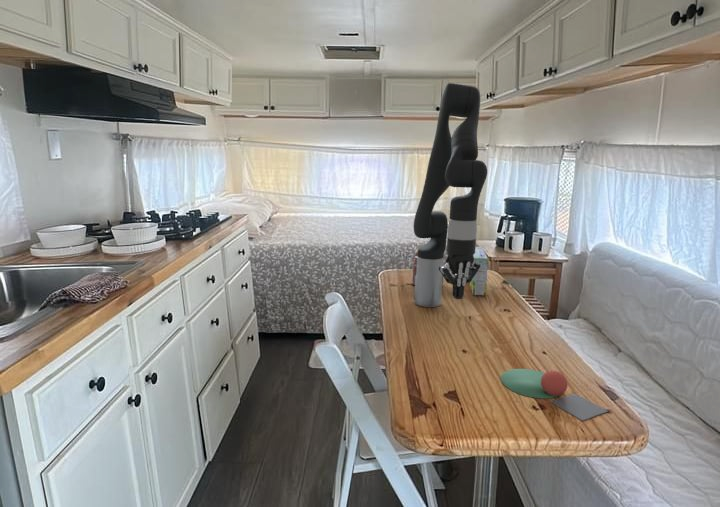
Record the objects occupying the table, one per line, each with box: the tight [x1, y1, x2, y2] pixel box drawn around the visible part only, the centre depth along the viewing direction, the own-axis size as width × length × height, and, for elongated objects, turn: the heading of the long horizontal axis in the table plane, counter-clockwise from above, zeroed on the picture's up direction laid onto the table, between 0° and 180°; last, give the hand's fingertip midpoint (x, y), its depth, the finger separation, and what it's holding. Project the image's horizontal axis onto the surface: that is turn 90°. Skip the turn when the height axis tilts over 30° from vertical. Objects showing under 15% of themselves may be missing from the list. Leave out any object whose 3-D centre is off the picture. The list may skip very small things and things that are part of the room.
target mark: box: [500, 368, 561, 400], centre depth 108 cm, size 14×14×1 cm
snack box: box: [468, 246, 489, 297], centre depth 183 cm, size 21×6×15 cm, turn 172°
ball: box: [541, 369, 568, 397], centre depth 103 cm, size 6×6×6 cm
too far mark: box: [550, 393, 609, 422], centre depth 98 cm, size 8×8×1 cm
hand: (457, 298), depth 126 cm, fingers closed
